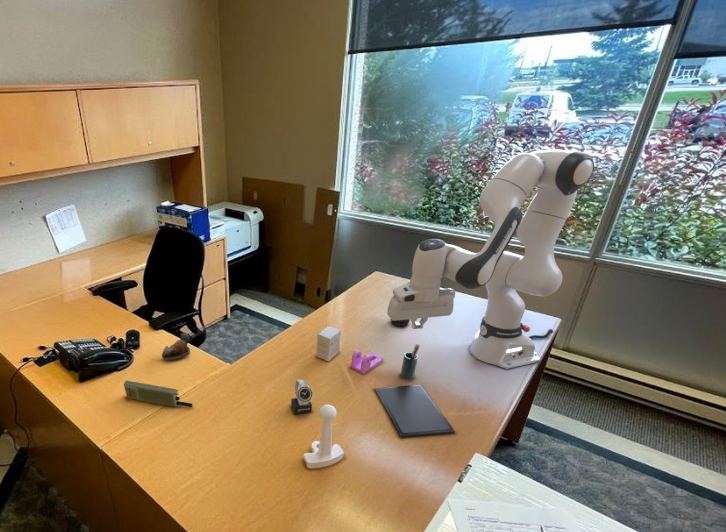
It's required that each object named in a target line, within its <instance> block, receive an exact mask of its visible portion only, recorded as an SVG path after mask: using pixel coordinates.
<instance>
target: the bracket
mask: <svg viewBox="0 0 726 532" xmlns="http://www.w3.org/2000/svg"><path fill="white" fill-rule="evenodd" d="M372 359H373V360H372ZM382 361H383V357H382V355H380V354H379V353H376V352H370V353H367V354H365V355H364V356H363V357H362V352H361V351H360V350H357V349H356V350H354V351H353V353H352V354H351V362H350V368H352V369H353V370H355V371H358V372H359V373H361V374H363V375H364V374H365V373H367V372H369V371H370V370H371V369H373V368H374V367H376V366H377V365H379V364H380V363H382Z"/></svg>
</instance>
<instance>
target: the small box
mask: <svg viewBox="0 0 726 532" xmlns="http://www.w3.org/2000/svg"><path fill="white" fill-rule="evenodd" d="M341 334H342V330H341V329H338V328H335V327H334V326H330V325H328V326H326V327H325V328H324V329H322V330H321V331H319V332H318V333H317V338H316V340H317V341H316V353H315V355H316V357H317V358H319V359H321V360H324V361H326V362H330V360H332V359H333V358H334V357H335V356H337V355H338V354H339V353H340V347H341V337H342V336H341Z"/></svg>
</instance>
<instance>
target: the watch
mask: <svg viewBox="0 0 726 532" xmlns="http://www.w3.org/2000/svg"><path fill="white" fill-rule="evenodd" d="M294 392H295V397H294V398H291V401H290V402H291V403H290V406H291V409H292V411H293V413H294V415H302V414H308V413H312V409H313V408H312V407H313V405H312V402H311V400H312V398H313V395H314V391H313V390H312V389H311V387H310V386H309V384H308V383H307V382H306V380H305V379H297V380H295V385H294Z"/></svg>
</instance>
